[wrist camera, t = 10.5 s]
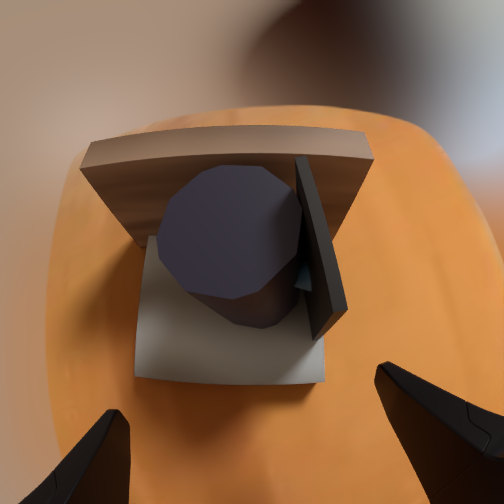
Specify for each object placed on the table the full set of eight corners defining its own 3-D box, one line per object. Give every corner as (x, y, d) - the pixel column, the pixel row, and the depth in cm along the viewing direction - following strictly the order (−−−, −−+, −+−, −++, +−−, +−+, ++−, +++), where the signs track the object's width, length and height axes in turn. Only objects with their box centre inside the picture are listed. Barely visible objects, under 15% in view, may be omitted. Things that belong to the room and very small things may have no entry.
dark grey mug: (332, 256, 18) (370, 151, 9) (318, 342, 16) (361, 317, 7) (224, 238, 20) (173, 132, 10) (202, 318, 18) (114, 265, 8)
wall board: (338, 378, 17) (414, 382, 8) (127, 373, 17) (33, 365, 8) (326, 223, 22) (364, 131, 13) (144, 225, 22) (91, 142, 13)
